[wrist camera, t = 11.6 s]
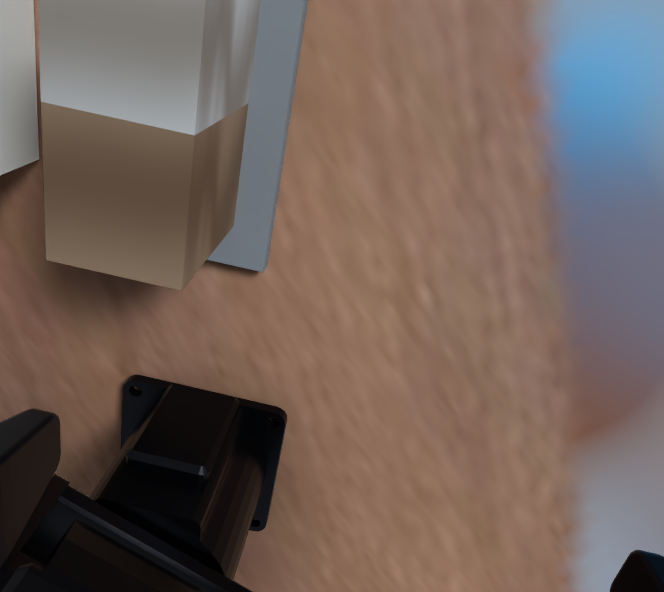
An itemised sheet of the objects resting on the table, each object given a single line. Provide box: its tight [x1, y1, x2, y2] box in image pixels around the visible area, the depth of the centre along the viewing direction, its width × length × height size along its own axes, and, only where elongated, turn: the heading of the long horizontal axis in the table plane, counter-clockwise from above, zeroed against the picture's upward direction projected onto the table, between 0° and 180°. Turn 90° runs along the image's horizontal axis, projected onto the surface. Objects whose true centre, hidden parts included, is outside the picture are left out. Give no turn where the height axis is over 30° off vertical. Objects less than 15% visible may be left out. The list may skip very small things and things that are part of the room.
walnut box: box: [38, 0, 261, 291], centre depth 16 cm, size 7×4×5 cm, turn 169°
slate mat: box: [207, 0, 307, 272], centre depth 18 cm, size 10×6×1 cm, turn 169°
